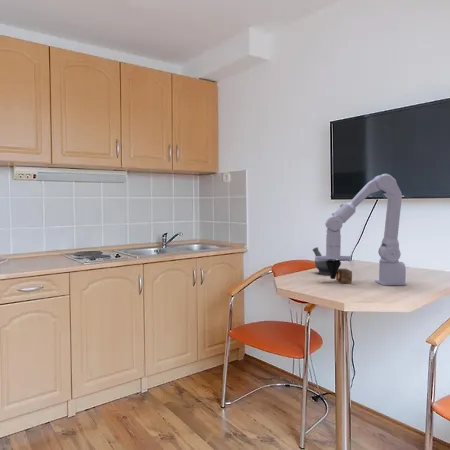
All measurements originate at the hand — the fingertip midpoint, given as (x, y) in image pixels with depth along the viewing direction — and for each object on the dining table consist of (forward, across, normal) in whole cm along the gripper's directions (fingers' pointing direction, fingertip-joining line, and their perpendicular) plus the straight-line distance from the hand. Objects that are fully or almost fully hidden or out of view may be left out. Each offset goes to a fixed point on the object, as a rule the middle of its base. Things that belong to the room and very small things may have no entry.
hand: (332, 278), depth 162 cm
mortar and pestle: (+2, -2, -20) cm, 20 cm away
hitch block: (+1, -5, 0) cm, 5 cm away
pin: (+1, -5, 0) cm, 5 cm away
